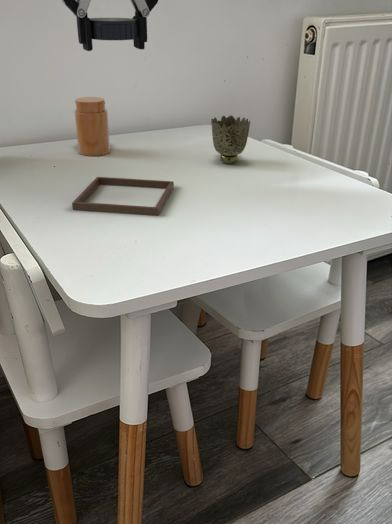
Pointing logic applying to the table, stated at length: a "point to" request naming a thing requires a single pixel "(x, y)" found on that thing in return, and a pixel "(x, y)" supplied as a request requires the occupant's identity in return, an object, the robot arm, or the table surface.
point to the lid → (114, 28)
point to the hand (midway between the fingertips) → (113, 48)
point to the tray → (125, 209)
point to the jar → (92, 126)
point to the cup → (230, 137)
